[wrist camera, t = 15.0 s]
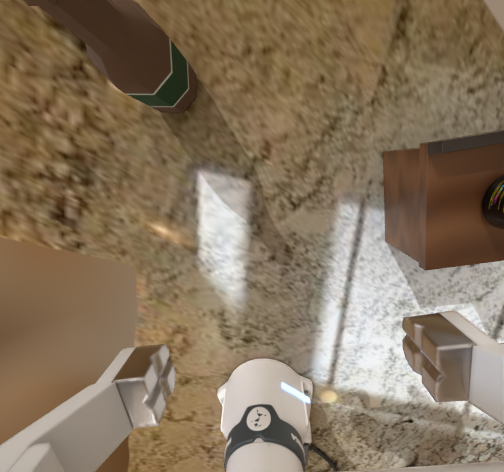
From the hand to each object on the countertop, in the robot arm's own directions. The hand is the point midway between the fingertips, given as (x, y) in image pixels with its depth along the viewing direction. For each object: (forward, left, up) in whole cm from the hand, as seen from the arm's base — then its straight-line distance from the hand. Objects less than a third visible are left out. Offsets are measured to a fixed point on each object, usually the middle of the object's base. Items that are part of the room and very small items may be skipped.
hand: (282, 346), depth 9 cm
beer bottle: (+19, +11, -33) cm, 40 cm away
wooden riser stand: (-2, -27, -33) cm, 43 cm away
